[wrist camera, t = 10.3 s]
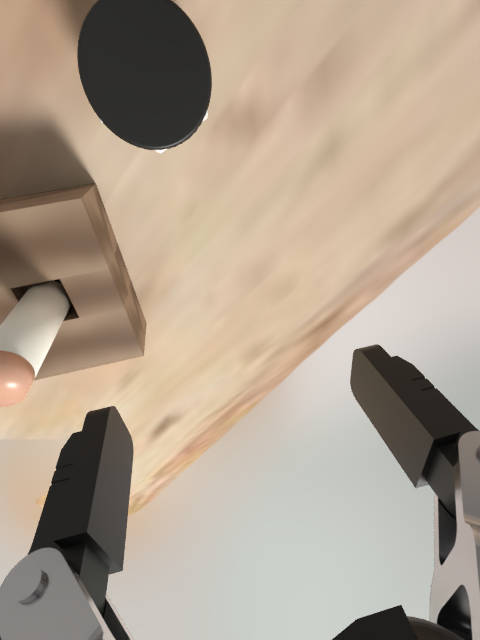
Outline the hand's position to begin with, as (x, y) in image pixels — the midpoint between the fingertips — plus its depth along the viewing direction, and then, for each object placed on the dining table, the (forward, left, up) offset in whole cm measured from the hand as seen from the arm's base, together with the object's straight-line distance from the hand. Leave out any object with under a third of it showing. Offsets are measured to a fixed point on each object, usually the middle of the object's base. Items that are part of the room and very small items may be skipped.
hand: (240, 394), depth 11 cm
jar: (-10, -1, -30) cm, 32 cm away
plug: (+6, -16, -25) cm, 30 cm away
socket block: (+6, -16, -30) cm, 35 cm away
